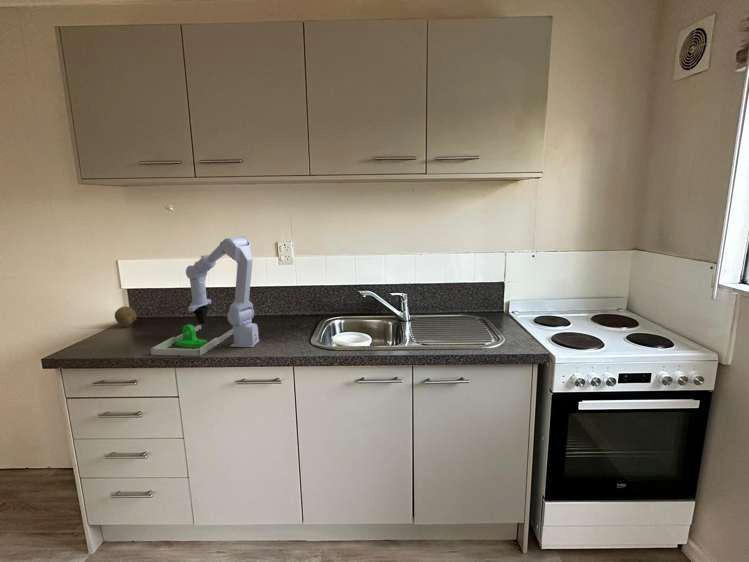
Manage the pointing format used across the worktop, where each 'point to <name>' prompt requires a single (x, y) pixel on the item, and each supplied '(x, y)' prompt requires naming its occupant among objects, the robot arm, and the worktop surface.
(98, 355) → the worktop surface
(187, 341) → the mechanical part
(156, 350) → the tray
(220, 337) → the slot rails
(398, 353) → the worktop surface
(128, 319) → the natural sponge
